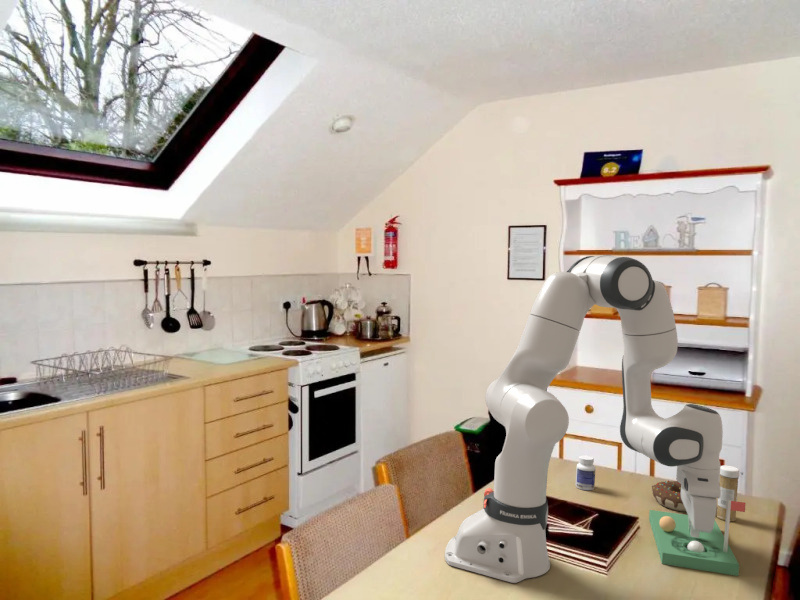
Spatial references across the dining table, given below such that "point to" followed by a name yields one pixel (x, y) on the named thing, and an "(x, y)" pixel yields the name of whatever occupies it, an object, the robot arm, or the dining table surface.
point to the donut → (669, 495)
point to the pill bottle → (585, 473)
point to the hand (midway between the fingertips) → (693, 534)
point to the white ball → (696, 546)
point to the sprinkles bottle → (727, 490)
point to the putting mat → (714, 543)
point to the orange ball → (667, 523)
